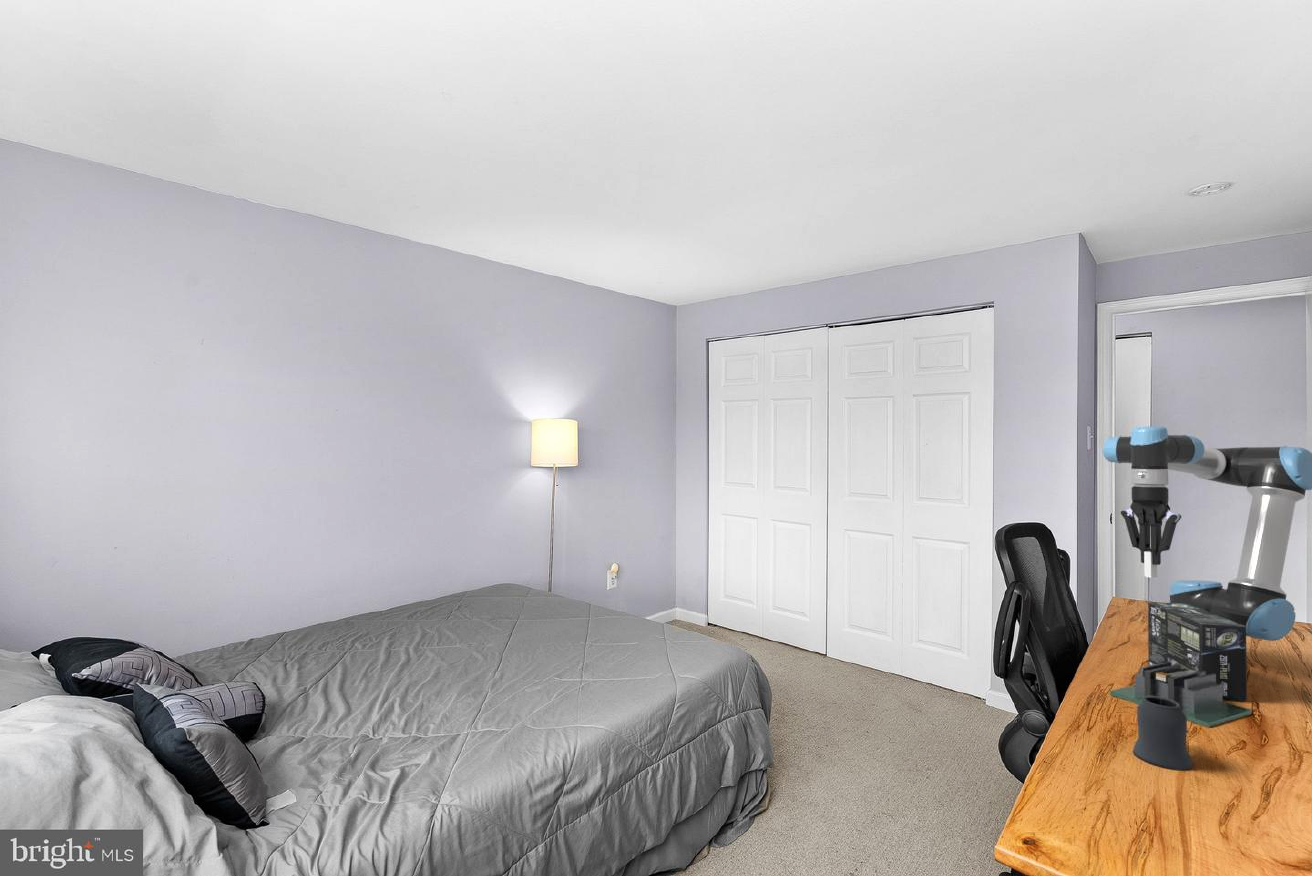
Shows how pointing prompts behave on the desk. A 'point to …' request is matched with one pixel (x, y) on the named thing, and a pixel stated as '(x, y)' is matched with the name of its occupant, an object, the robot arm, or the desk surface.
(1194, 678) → the heatsink
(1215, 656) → the box
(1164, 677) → the strap
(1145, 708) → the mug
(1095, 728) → the desk surface
